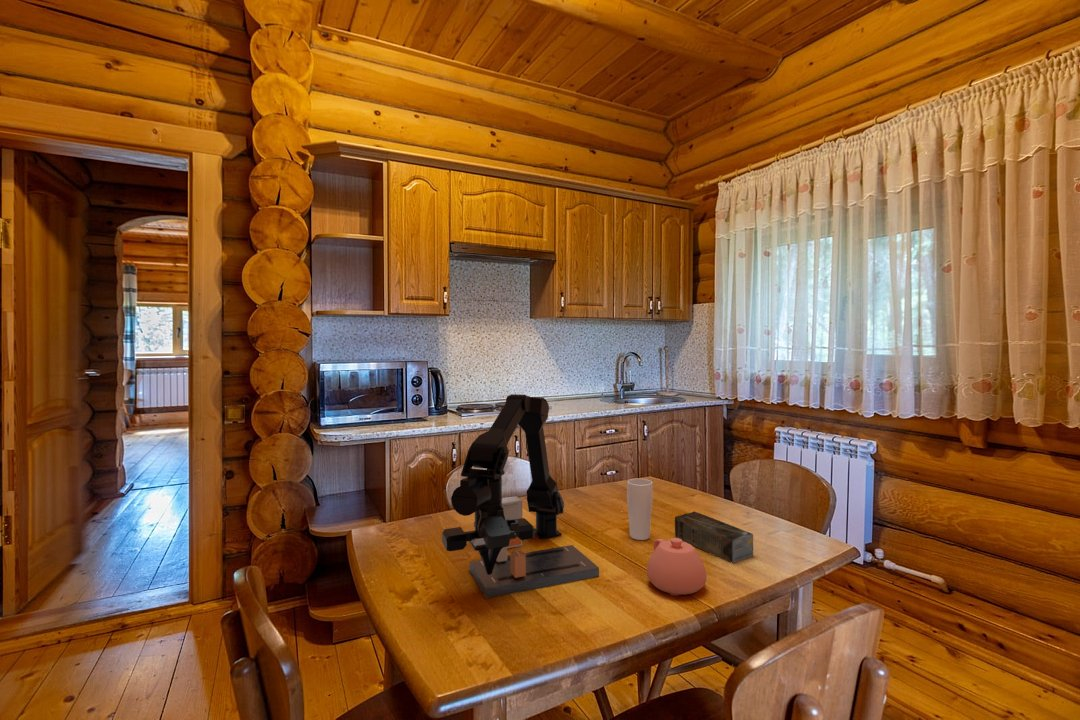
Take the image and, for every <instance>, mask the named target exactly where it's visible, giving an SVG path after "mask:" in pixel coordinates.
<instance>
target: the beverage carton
mask: <svg viewBox="0 0 1080 720" xmlns="http://www.w3.org/2000/svg"><path fill="white" fill-rule="evenodd" d="M674 538H679V539H681V540H682V541H683V542H686V543H688V544H690V545H692V546H693V547H694V548H697V549H700V550H702V551H704V552H706V553H708V554H710V553H711V555H713V556H715V557H718V558H719V557H720V559H723V560H725V561H727V562H730V563H731V562H732V563H731V564H735V563H738V562H742V561H744V560H748V559H750V558H753V557H754V534H753V533H751V532H749V531H746V530H744V529H741V528H739V527H736V526H734V525H731V524H728V523H727V522H724V521H721V520H719V519H716V518H713V517H712V516H711V517H710V516H709V515H706V514H702V513H700V512H697V511H691V512H689V513H683V514H681V515H676V516H675V517H674Z"/></svg>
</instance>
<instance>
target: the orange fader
mask: <svg viewBox="0 0 1080 720" xmlns="http://www.w3.org/2000/svg"><path fill="white" fill-rule="evenodd" d="M524 553H525V552H523V551H522V550H521V549H519V550H516V549H515V550H513V551H510V554H509V555H510V565H511V573H512V575H513V576H514V577H515V578H517V577H523V576H526V555H525V554H524Z"/></svg>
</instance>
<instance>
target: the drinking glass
mask: <svg viewBox="0 0 1080 720" xmlns="http://www.w3.org/2000/svg"><path fill="white" fill-rule="evenodd" d="M653 490H654V487H653V481H652V480H650V479H647V478H631V479H628V480H627V483H626V501H627V512H628V513H627V514H628V524H629V525H628V526H629V536H630V538H631V539H632V540H636V541H646V540H649V539H650V536H651V522H652V521H651V520H652V510H653V498H654V496H653V495H654V493H653Z"/></svg>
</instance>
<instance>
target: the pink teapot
mask: <svg viewBox="0 0 1080 720" xmlns="http://www.w3.org/2000/svg"><path fill="white" fill-rule="evenodd" d="M652 546H653V552H652V553H651V555H650V557H649V560H648V562H647V567H646V576H647V578H648V580H649V581H650V582H651V583H652V584H653V586H654V587H655V588H656V589H658V590H660V591H662V592H665V593H668V594H669V593H670V594H671V595H670V594H669V595H670V596H673V595H674V596H673V597H675V595H676V597H677V595H678V596H680V595H690V594H691V595H692V594H694V593H696V592H698V591H699V590H700V589H702V588H703V587H704V586H705V584H706V582H707V573H706V572H707V571H706V567H705V564H704V562H703V560H702V558H701V556H700V554H699V553H698V551H697V550H696V549H695V548H696V547H695V546H693V545H691V544H688V543H686V542H684V541H682V540H681V539H679V538H675V537H673V538H670V539H669V540H665V539H664V538H657V539H655V540H654V542H653V545H652Z"/></svg>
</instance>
